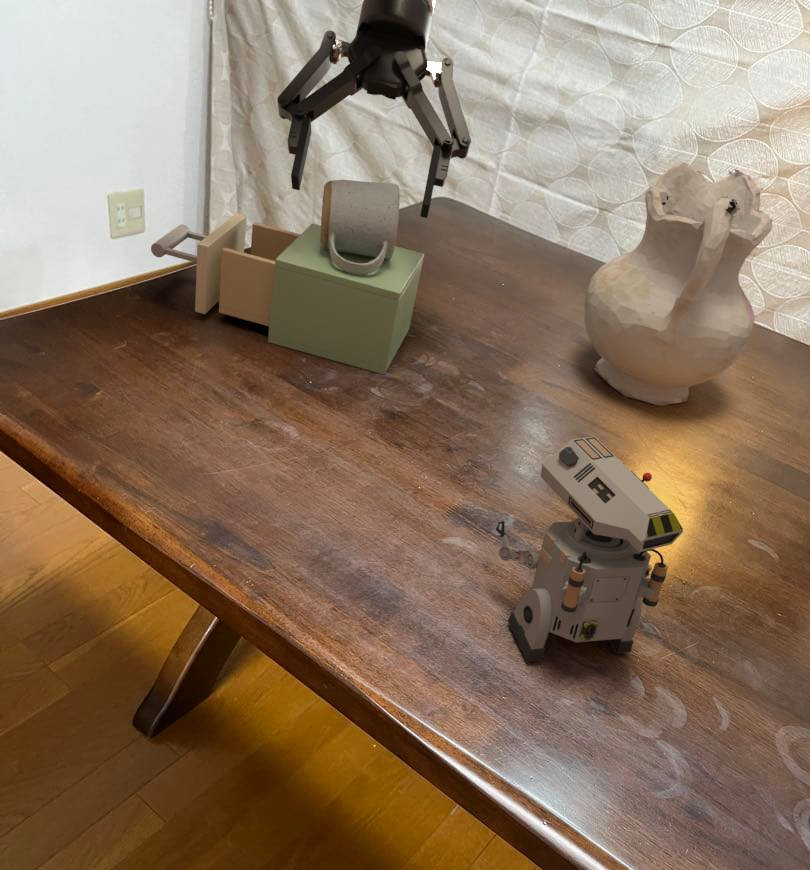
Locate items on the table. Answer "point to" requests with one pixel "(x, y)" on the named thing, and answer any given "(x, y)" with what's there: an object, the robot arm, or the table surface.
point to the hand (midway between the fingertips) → (360, 197)
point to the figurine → (592, 553)
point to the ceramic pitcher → (678, 288)
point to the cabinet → (342, 303)
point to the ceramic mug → (360, 222)
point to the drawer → (232, 266)
